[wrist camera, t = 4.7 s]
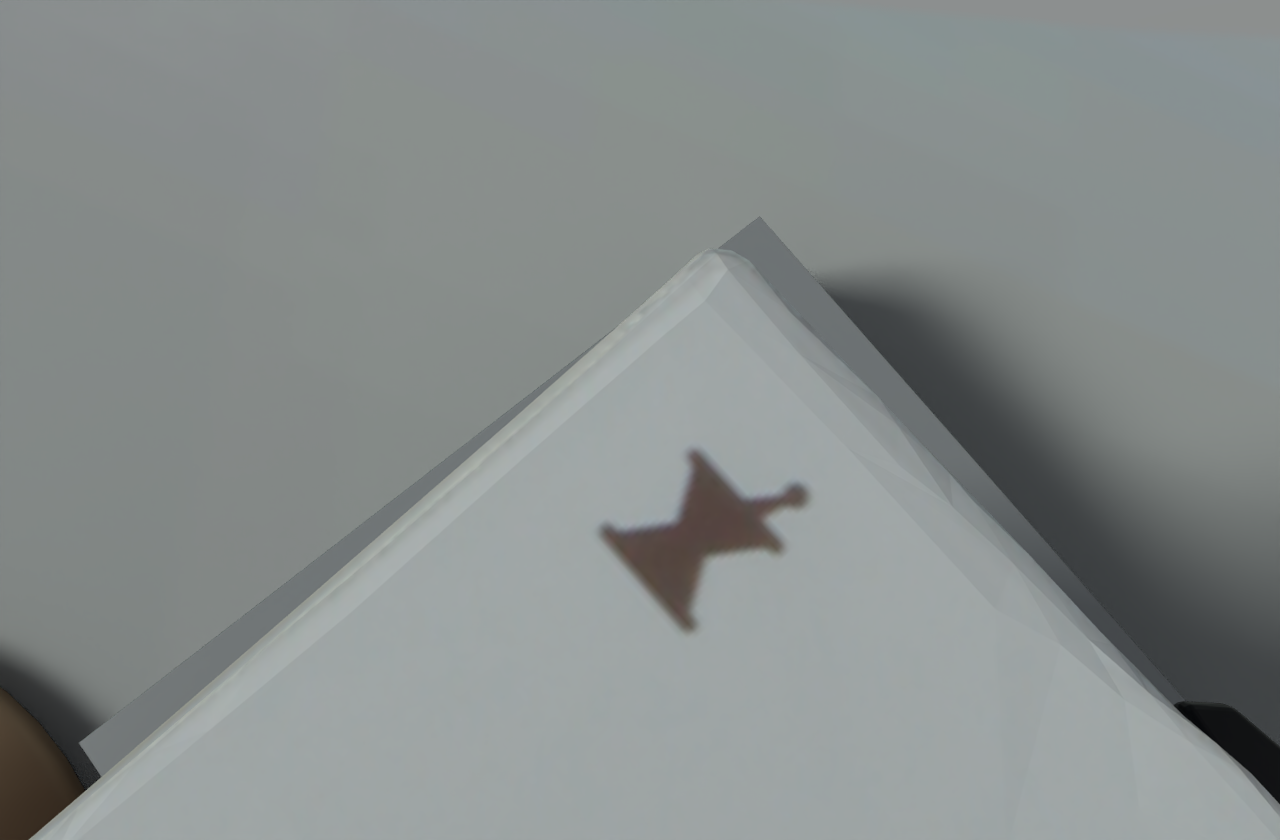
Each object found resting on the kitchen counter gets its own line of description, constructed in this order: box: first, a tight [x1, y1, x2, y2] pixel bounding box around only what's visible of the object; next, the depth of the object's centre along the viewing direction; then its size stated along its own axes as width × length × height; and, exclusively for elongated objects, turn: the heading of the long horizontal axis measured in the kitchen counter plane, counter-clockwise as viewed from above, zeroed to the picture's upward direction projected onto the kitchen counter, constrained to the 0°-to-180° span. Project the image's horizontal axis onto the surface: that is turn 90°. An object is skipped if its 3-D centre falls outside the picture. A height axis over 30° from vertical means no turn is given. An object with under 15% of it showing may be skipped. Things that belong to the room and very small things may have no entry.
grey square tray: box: [79, 217, 1185, 777], centre depth 14 cm, size 10×10×2 cm
